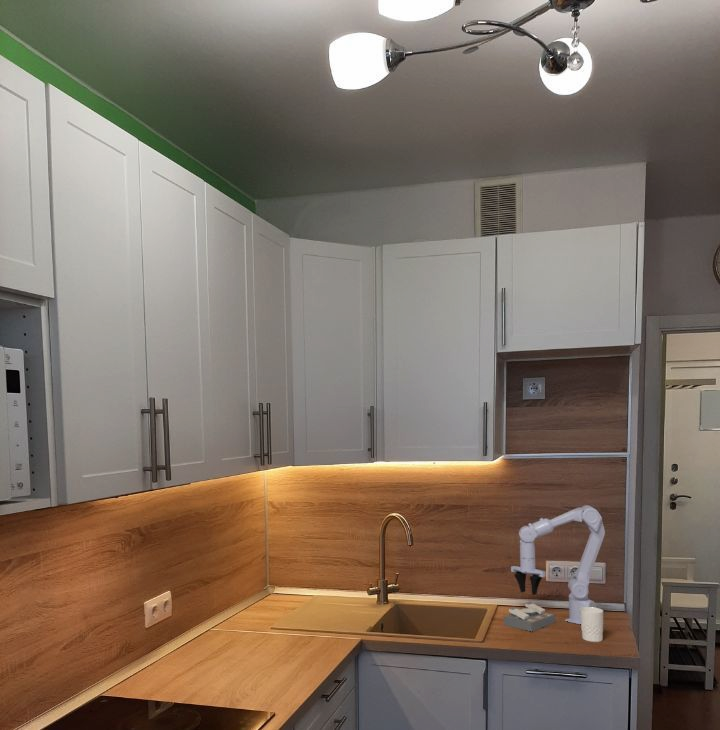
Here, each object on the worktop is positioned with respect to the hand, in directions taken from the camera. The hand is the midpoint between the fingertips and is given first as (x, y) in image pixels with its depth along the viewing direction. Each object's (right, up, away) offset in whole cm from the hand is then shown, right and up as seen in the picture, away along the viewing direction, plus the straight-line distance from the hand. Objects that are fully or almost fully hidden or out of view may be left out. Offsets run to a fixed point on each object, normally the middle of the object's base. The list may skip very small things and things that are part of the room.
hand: (528, 593), depth 255 cm
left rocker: (-6, -4, -10) cm, 13 cm away
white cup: (+16, -8, -25) cm, 31 cm away
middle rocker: (-2, -5, -6) cm, 8 cm away
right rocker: (+2, -5, -3) cm, 6 cm away
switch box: (-2, -9, -7) cm, 12 cm away
